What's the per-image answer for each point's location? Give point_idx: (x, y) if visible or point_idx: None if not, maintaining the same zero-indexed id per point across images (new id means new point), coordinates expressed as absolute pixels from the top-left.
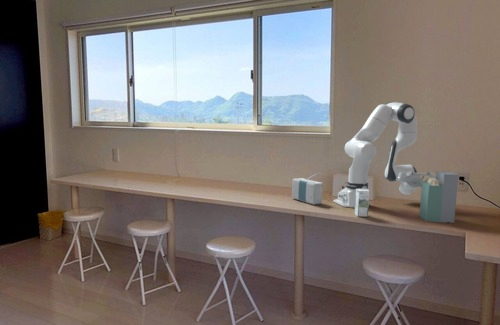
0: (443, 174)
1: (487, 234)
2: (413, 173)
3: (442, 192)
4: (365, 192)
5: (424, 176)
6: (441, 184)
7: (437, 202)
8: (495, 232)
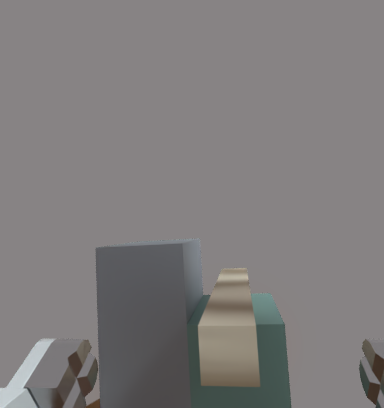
0: (199, 241)
1: None
2: (361, 369)
3: None
4: None
5: (251, 299)
6: (200, 296)
7: None
8: (99, 398)
